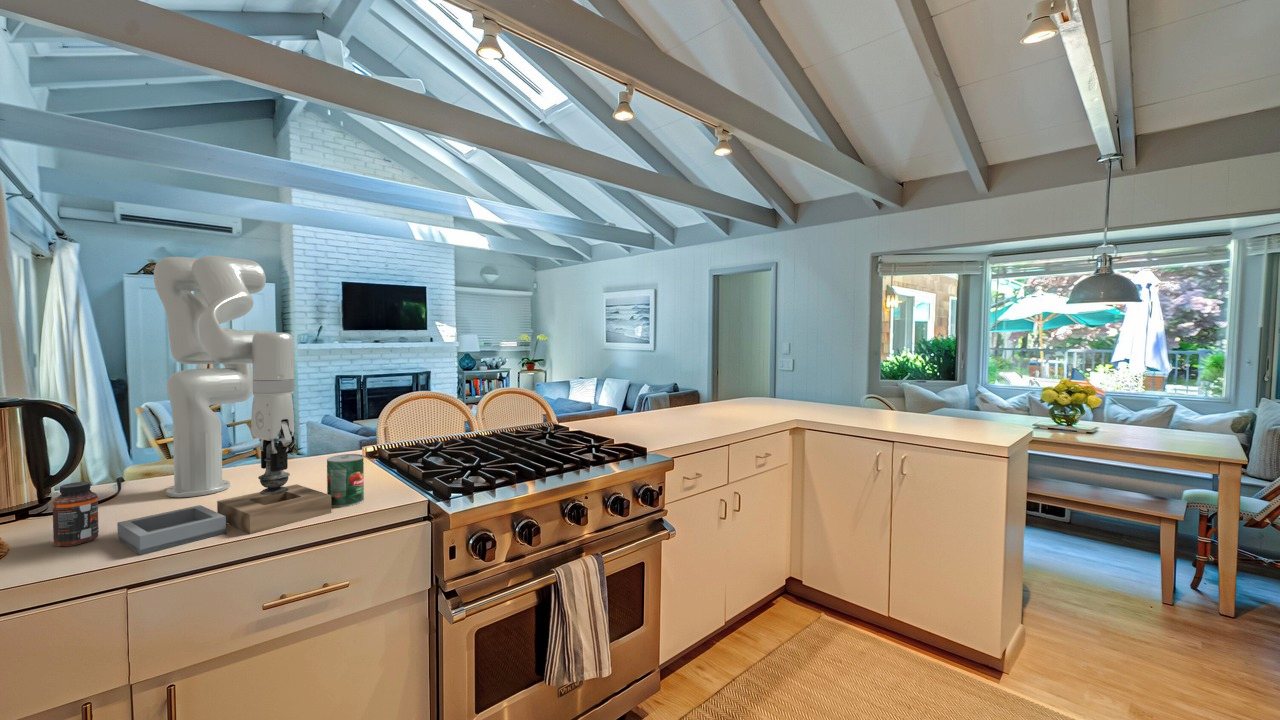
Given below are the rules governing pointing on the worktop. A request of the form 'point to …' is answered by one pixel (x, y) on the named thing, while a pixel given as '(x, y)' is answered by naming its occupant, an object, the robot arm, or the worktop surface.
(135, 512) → the worktop surface
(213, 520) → the tray
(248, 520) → the socket block
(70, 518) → the supplement bottle
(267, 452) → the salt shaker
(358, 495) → the canned tomato
